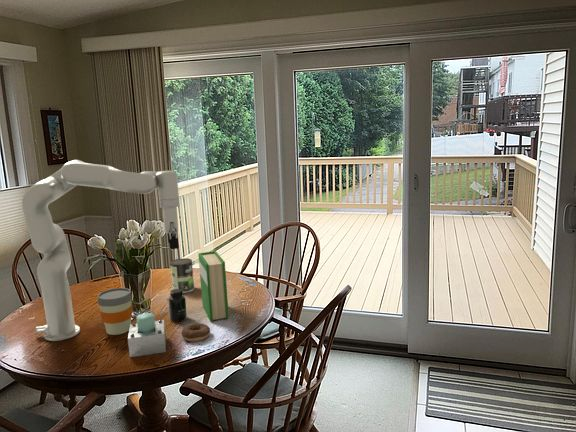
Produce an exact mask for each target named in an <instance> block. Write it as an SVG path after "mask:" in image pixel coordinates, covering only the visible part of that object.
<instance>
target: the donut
mask: <svg viewBox="0 0 576 432" xmlns="http://www.w3.org/2000/svg"><path fill="white" fill-rule="evenodd" d="M210 333H211V328H210V327H209V326H208V324H205V323H201V322H197V323H190V324H187V325H185V326H183V328H182V330H181V332H180V334H181V337H182V338H183V340H185V341H187V342H200V341H203V340H205V339H207V338H208V337H209V336H210Z"/></svg>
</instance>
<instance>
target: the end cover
mask: <svg viewBox="0 0 576 432" xmlns="http://www.w3.org/2000/svg"><path fill="white" fill-rule="evenodd" d="M155 321H156V319H155V314H154V313H152V312H151V313H150V312H145V313H140V314H139V315H137V316H136V323H137V327H138V332H139V333H145V332H153V331H154V330H155Z"/></svg>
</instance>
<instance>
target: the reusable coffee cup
mask: <svg viewBox="0 0 576 432" xmlns="http://www.w3.org/2000/svg"><path fill="white" fill-rule="evenodd" d="M132 299H133V295H132V291H131V289H129V288H126V287H118V288H117V287H116V288H110V289H106V290H104V291H101V292H100V293H98V295H97V304H98V306H99V314H100V319H101V320H102V322H103V324H104V327H105V330H106V334H108V335H111V336H112V335H113V336H116V335H122V334H124V333H127V332H129V329H130V324H132V317H133V304H132Z"/></svg>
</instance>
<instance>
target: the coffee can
mask: <svg viewBox="0 0 576 432" xmlns="http://www.w3.org/2000/svg"><path fill="white" fill-rule="evenodd" d="M169 265H170V276H171V285H172V290H174V289H181V290H182V292H183V294H186V293H190V292H193V291H194V290H195V282H194V270H193V269H194V268H193V259H192V258H188V257H187V258H185V257H184V258H177V259H174V260H171V261H170V262H169Z"/></svg>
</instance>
